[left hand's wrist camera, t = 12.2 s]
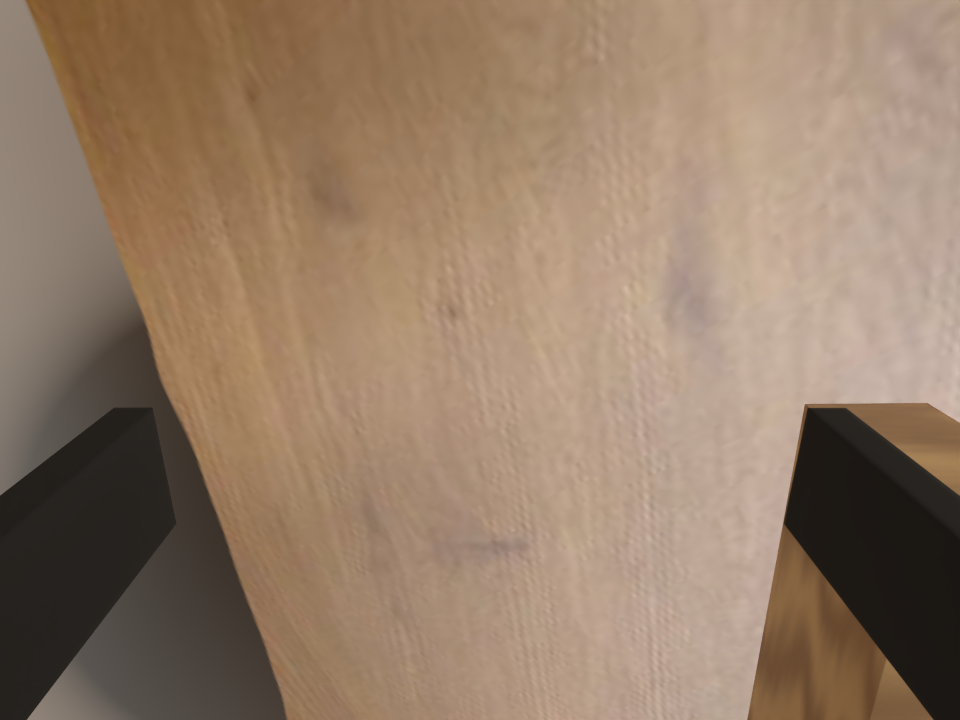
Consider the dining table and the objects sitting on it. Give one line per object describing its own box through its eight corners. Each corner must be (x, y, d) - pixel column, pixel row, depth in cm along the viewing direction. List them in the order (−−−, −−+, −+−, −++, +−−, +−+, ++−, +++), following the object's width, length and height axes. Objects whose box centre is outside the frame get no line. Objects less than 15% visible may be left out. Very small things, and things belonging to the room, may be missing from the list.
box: (804, 403, 30) (927, 507, 22) (927, 402, 30) (1097, 505, 22) (732, 799, 39) (798, 976, 31) (826, 799, 39) (917, 976, 31)
